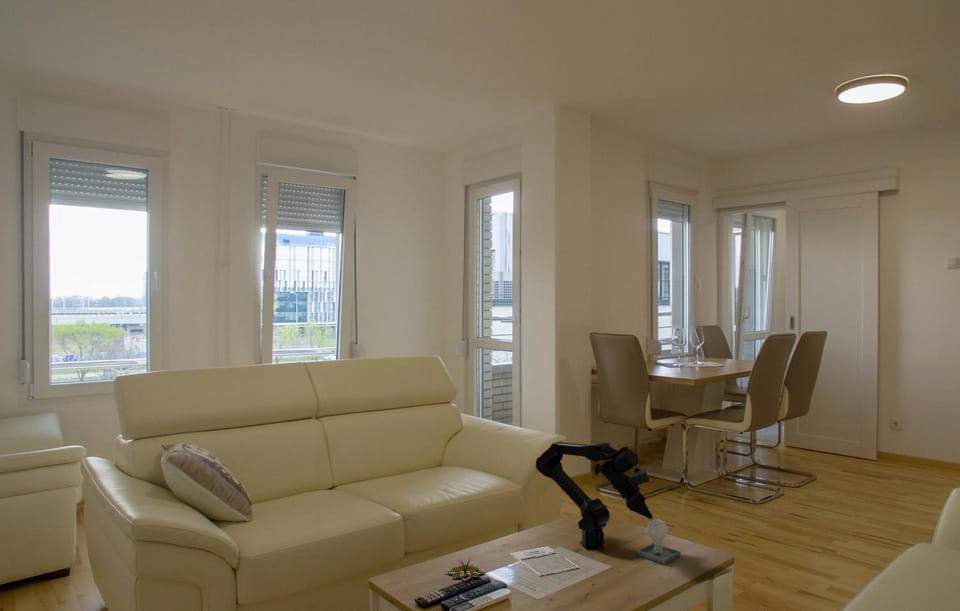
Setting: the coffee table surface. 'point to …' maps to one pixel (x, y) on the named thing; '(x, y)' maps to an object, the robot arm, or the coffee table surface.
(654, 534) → the lightbulb
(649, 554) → the dish
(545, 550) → the photo frame
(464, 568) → the flower arrangement
